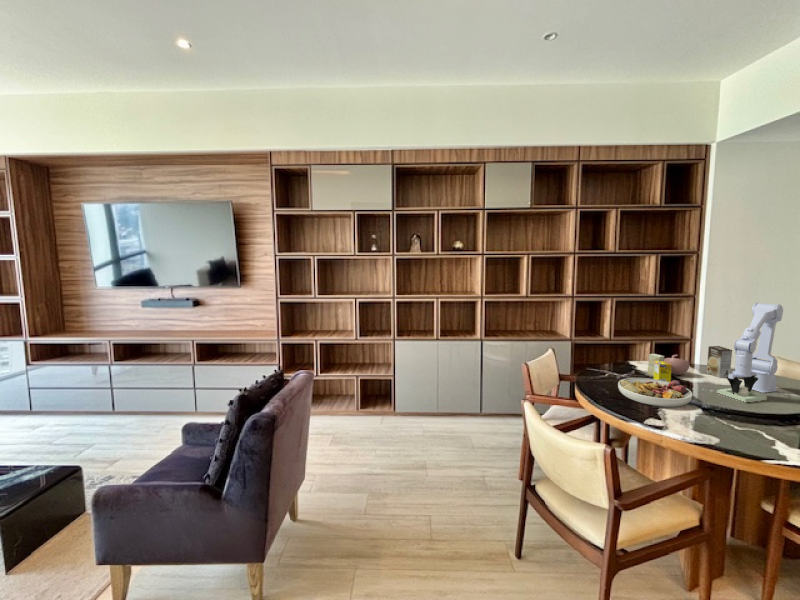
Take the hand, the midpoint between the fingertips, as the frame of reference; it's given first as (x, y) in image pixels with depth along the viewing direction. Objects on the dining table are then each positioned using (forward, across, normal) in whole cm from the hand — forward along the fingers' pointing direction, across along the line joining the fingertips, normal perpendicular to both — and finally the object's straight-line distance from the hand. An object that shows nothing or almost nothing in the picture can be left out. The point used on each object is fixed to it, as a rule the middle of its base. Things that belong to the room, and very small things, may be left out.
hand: (741, 391), depth 178 cm
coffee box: (+3, -22, -28) cm, 36 cm away
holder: (+3, 0, 0) cm, 3 cm away
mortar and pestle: (+3, -2, -36) cm, 36 cm away
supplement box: (+3, +17, -27) cm, 32 cm away
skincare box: (+3, +11, -37) cm, 39 cm away
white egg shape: (+3, 0, 0) cm, 3 cm away
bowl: (+3, +39, -11) cm, 41 cm away
